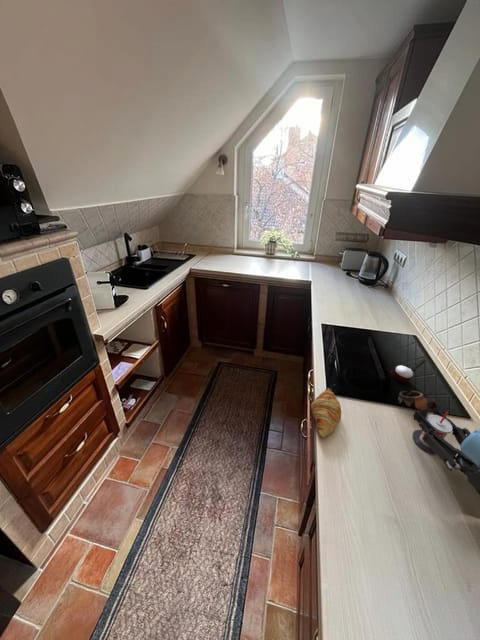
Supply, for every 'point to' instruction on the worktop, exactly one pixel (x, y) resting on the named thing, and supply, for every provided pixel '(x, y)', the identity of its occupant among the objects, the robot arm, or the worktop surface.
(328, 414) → the croissant
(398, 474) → the worktop surface
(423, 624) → the worktop surface
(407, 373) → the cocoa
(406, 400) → the pottery mug
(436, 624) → the worktop surface
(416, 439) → the slate coaster
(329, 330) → the worktop surface
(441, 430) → the beverage cup
